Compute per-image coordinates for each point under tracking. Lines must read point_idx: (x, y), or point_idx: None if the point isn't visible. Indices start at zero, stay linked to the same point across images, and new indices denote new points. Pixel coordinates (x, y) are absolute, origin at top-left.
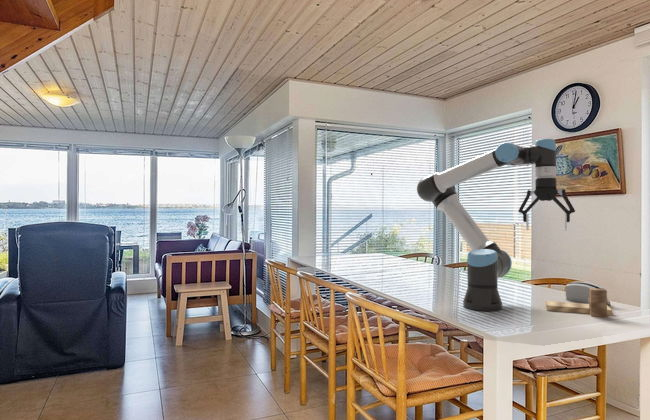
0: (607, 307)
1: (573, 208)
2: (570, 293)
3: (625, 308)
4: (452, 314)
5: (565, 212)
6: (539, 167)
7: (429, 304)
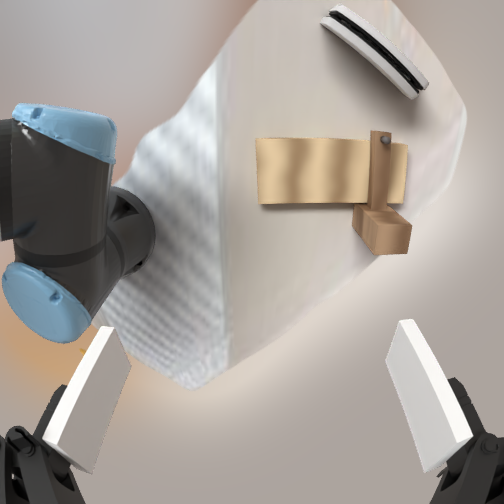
0: (401, 175)
1: (497, 485)
2: (336, 33)
3: (440, 110)
4: None
5: (468, 460)
6: None
7: None
